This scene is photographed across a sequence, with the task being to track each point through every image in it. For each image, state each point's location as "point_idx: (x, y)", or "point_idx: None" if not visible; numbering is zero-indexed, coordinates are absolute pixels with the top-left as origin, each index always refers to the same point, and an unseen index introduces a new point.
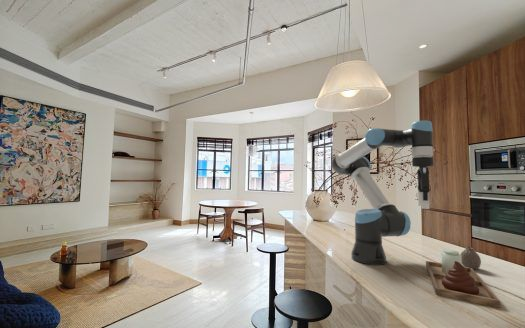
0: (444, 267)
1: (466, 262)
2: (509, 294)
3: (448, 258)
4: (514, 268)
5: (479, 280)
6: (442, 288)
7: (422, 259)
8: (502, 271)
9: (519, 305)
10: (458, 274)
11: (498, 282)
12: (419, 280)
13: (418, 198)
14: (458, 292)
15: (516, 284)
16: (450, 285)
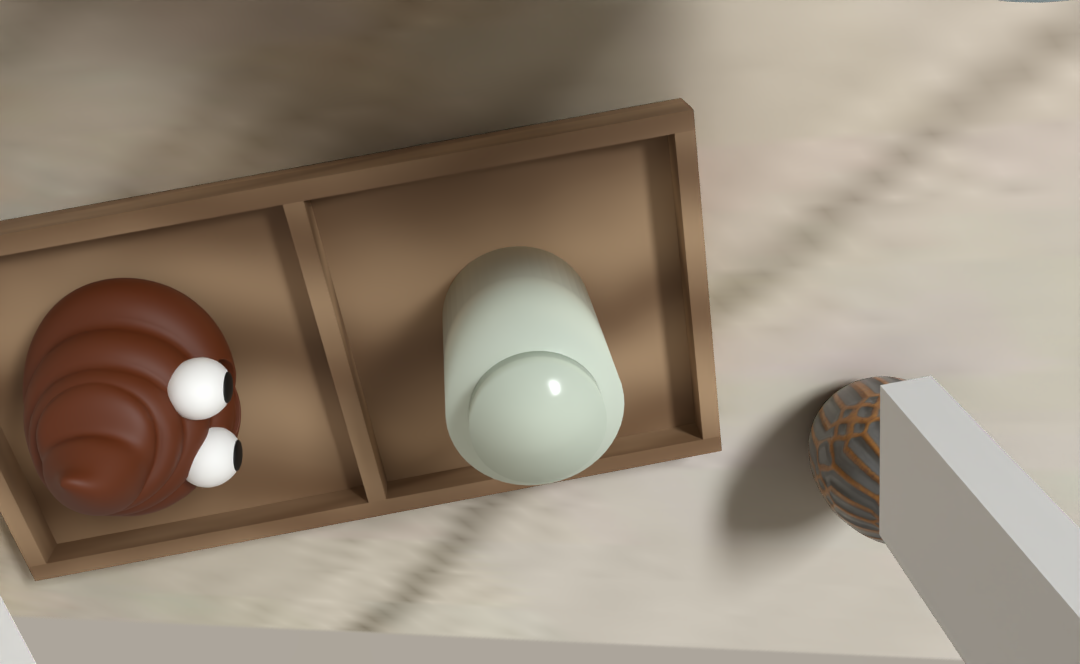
0: (463, 295)
1: (822, 427)
2: (370, 593)
3: (446, 376)
4: None
5: (413, 491)
6: (45, 278)
7: (901, 43)
8: (903, 582)
9: (203, 621)
10: (31, 449)
11: (591, 556)
12: (130, 94)
13: (1002, 521)
14: None
15: (628, 629)
16: (30, 348)
